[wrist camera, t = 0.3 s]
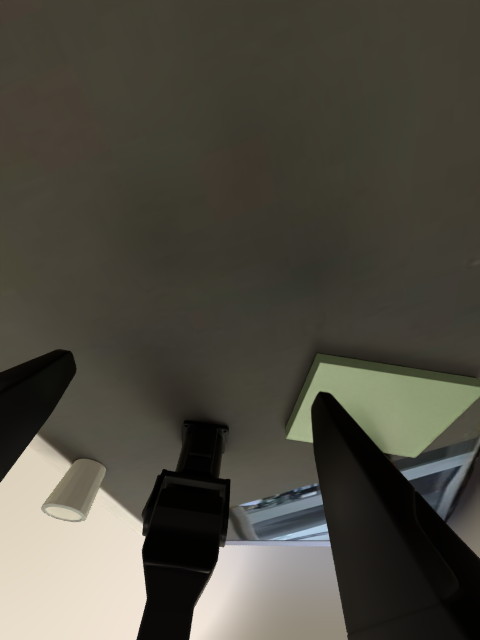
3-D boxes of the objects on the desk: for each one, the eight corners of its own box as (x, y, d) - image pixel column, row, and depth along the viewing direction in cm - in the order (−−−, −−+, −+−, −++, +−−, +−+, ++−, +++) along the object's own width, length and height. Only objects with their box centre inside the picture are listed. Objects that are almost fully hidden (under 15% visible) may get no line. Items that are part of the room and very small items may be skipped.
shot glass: (64, 455, 41) (31, 503, 35) (102, 457, 40) (75, 506, 34) (80, 475, 44) (52, 521, 38) (114, 477, 44) (92, 524, 38)
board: (409, 446, 33) (415, 457, 32) (284, 428, 33) (286, 438, 31) (476, 377, 26) (488, 388, 24) (316, 353, 25) (320, 362, 24)
